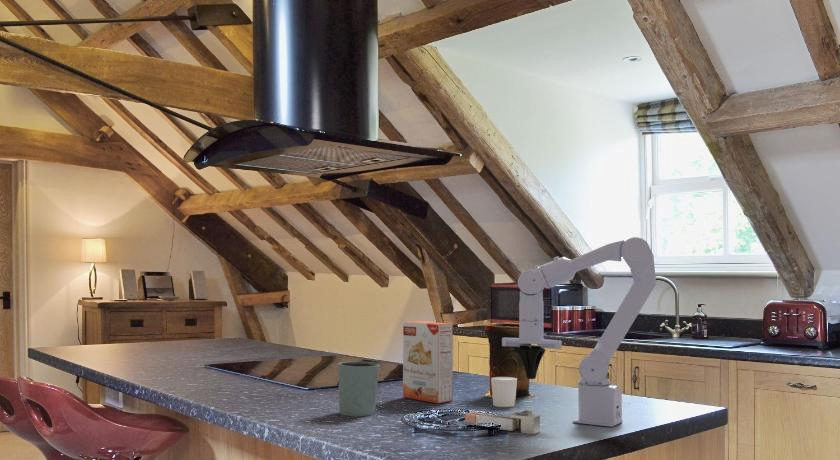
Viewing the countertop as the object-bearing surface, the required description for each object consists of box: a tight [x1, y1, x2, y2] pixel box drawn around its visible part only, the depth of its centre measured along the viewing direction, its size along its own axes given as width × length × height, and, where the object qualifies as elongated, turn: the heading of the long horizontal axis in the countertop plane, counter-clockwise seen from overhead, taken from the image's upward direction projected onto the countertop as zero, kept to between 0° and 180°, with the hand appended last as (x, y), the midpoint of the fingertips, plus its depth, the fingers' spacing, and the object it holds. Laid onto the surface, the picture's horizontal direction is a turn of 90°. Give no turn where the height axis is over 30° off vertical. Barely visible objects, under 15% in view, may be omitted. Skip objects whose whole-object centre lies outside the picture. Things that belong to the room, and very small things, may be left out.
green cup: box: [337, 361, 380, 417], centre depth 195 cm, size 10×10×12 cm
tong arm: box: [469, 411, 520, 430], centre depth 179 cm, size 12×1×2 cm, turn 58°
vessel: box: [483, 322, 536, 400], centre depth 226 cm, size 14×14×20 cm
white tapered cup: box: [491, 377, 517, 408], centre depth 209 cm, size 7×7×7 cm
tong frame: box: [464, 411, 541, 435], centre depth 176 cm, size 16×4×4 cm, turn 58°
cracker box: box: [402, 320, 454, 405], centre depth 217 cm, size 14×6×21 cm, turn 43°
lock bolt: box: [507, 410, 533, 429], centre depth 178 cm, size 5×2×4 cm, turn 58°
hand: (531, 378), depth 190 cm, fingers closed
